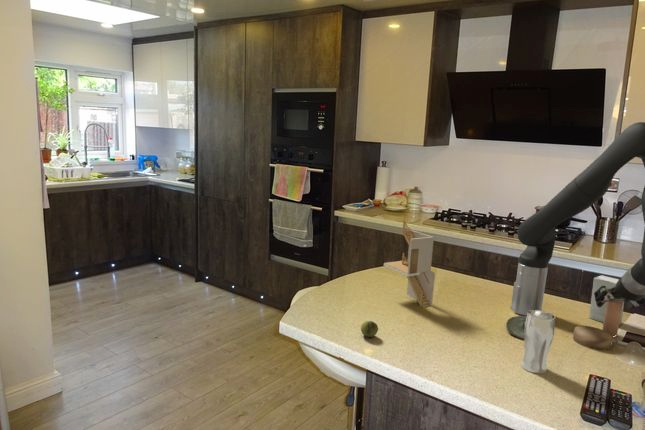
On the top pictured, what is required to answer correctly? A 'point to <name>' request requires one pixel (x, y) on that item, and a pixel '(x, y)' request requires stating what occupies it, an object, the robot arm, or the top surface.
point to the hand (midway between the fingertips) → (613, 306)
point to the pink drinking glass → (612, 317)
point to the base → (592, 337)
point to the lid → (516, 326)
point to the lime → (369, 329)
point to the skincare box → (599, 312)
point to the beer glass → (537, 340)
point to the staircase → (417, 266)
